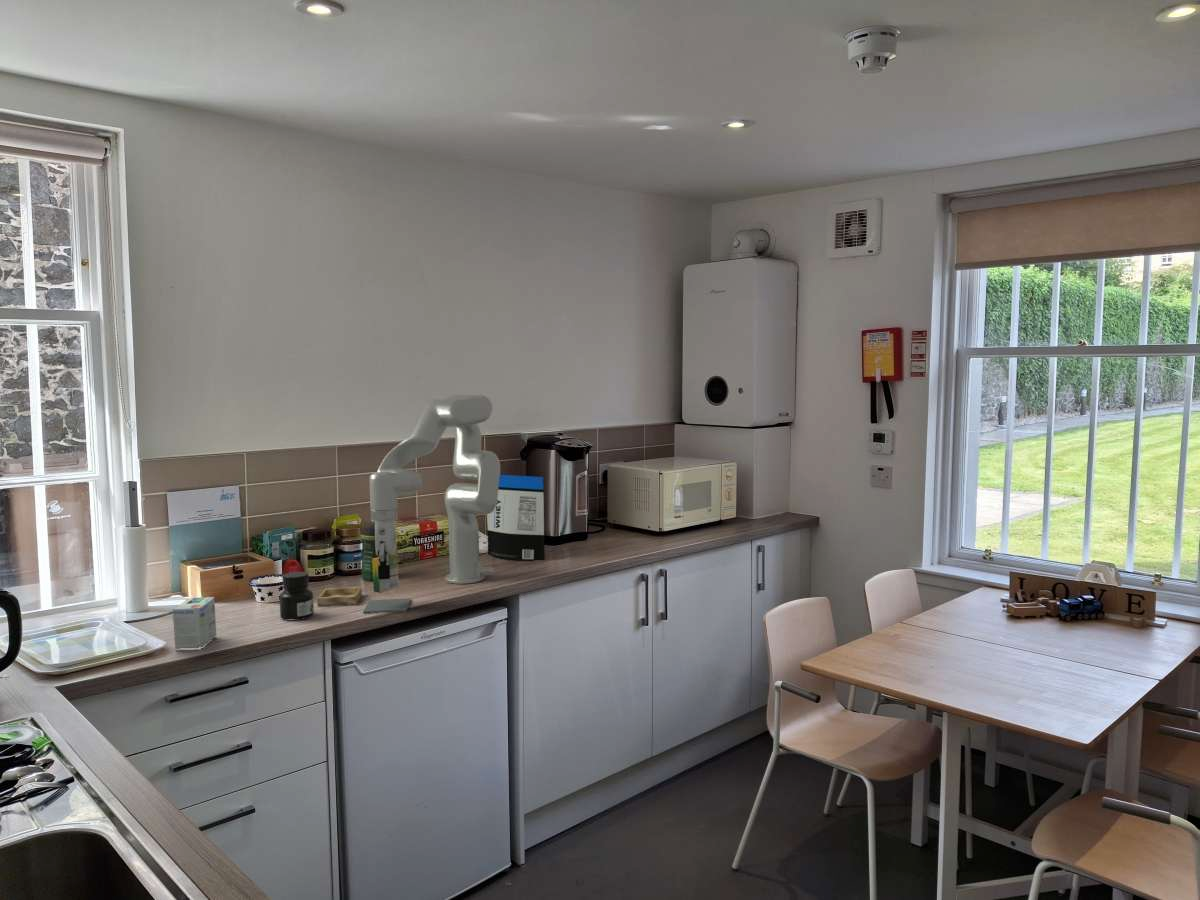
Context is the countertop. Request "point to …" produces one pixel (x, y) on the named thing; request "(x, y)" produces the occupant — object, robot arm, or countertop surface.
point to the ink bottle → (296, 596)
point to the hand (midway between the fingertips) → (386, 575)
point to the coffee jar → (368, 550)
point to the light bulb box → (194, 622)
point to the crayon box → (393, 582)
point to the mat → (387, 605)
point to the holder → (339, 596)
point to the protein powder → (517, 520)
